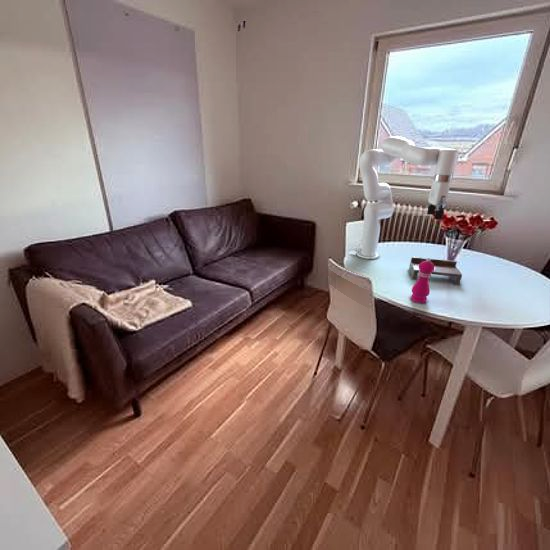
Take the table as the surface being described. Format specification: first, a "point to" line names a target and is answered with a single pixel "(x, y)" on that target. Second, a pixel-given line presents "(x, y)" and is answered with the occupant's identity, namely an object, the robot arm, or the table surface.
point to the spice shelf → (437, 268)
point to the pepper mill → (422, 282)
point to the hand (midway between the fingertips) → (434, 216)
